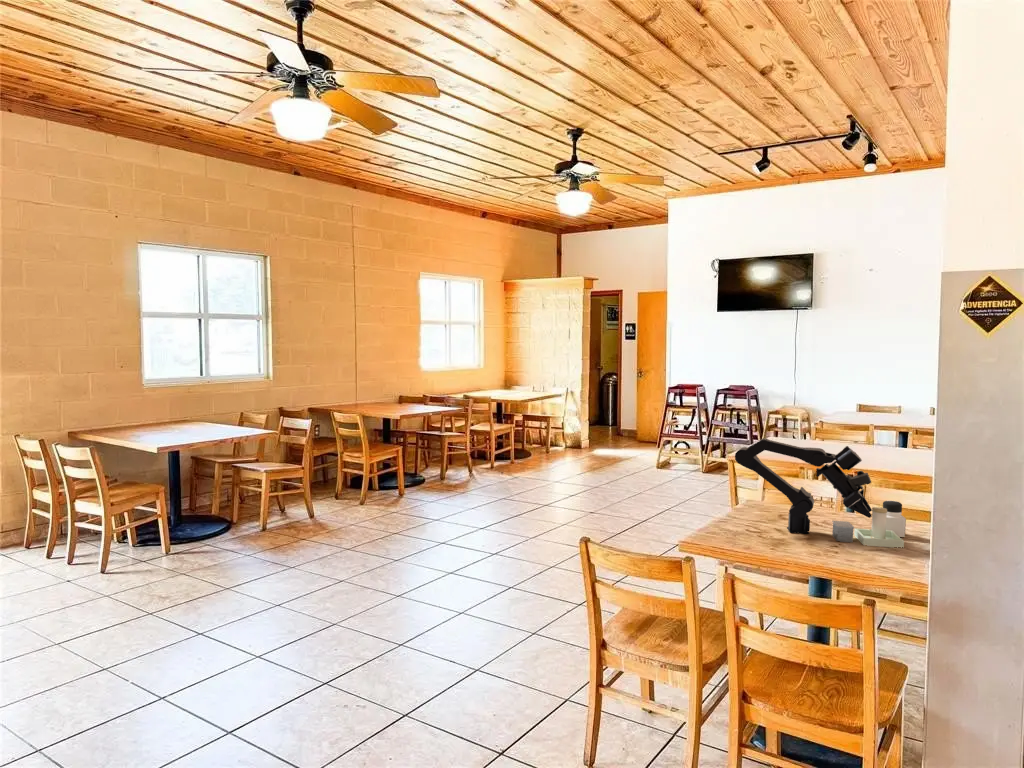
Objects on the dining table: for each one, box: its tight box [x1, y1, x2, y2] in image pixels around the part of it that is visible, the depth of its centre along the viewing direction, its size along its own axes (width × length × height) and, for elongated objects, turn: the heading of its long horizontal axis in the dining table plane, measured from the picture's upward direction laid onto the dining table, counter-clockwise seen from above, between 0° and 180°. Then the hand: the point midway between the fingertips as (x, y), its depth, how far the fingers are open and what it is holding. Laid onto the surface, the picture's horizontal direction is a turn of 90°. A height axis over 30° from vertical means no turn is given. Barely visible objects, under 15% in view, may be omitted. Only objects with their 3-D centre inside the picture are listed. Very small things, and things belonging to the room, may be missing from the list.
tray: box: [853, 527, 905, 549], centre depth 246 cm, size 12×12×2 cm
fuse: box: [871, 506, 887, 539], centre depth 246 cm, size 5×5×11 cm
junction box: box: [831, 520, 855, 544], centre depth 249 cm, size 5×9×5 cm, turn 168°
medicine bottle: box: [882, 500, 907, 538], centre depth 254 cm, size 7×7×12 cm
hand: (870, 514), depth 247 cm, fingers open, 9 cm apart
